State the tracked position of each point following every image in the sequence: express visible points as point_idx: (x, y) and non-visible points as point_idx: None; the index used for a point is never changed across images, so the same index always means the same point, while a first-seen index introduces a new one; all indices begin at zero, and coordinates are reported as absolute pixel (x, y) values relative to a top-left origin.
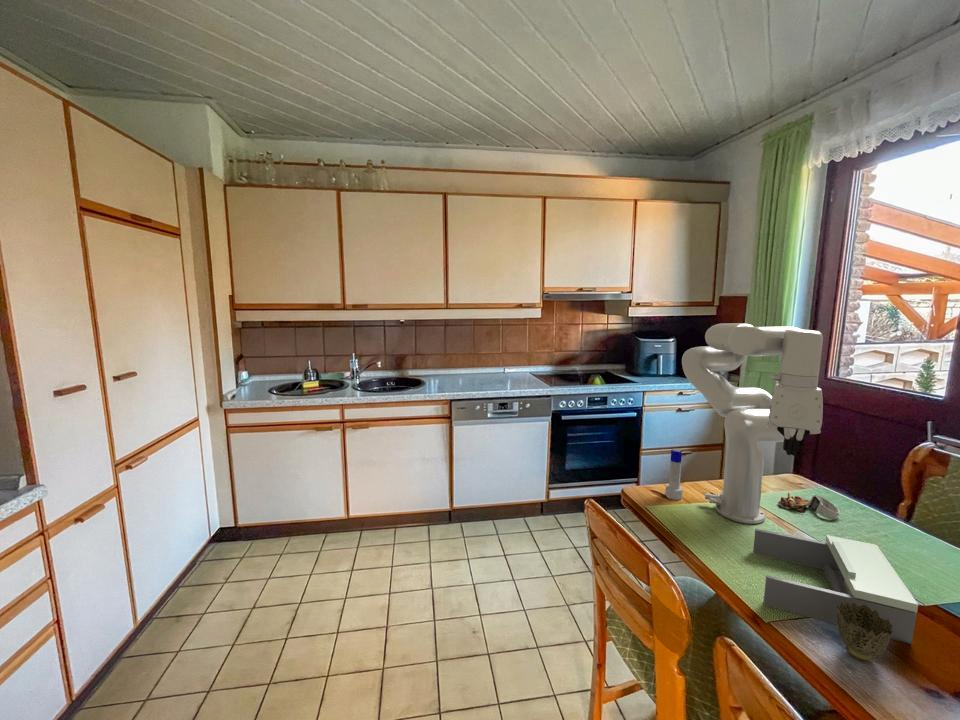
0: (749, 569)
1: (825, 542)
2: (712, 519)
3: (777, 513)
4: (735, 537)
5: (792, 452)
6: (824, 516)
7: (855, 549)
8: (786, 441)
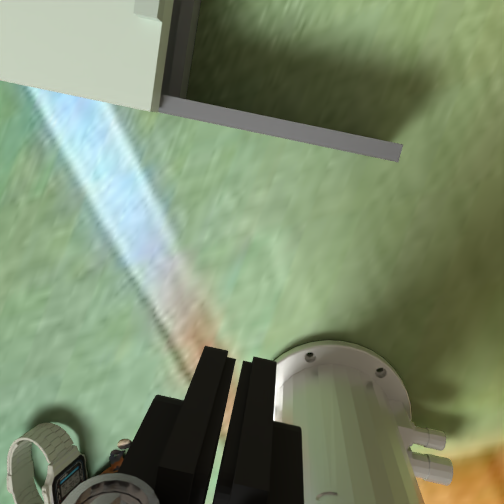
0: (437, 27)
1: (160, 111)
2: (444, 347)
3: None
4: (405, 238)
5: (231, 368)
6: (62, 430)
7: (82, 8)
8: (287, 499)
